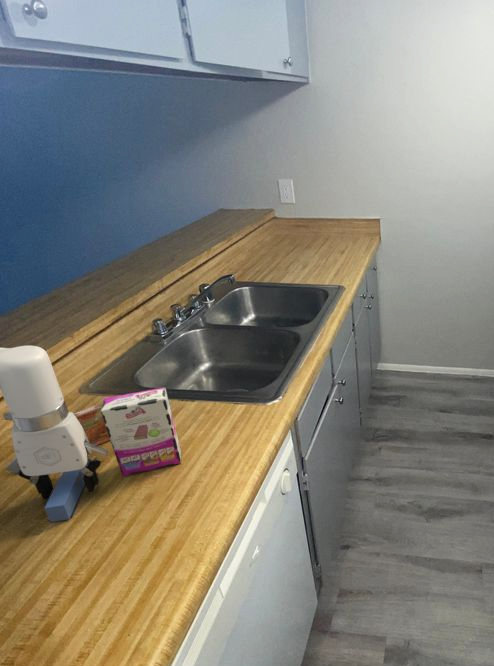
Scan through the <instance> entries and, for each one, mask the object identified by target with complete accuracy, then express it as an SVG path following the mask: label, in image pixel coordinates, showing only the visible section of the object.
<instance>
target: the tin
mask: <svg viewBox="0 0 494 666" xmlns="http://www.w3.org/2000/svg"><path fill="white" fill-rule="evenodd" d="M102 405H103V402H101V403H98V404H96V405H92V406H89V407H87V408H85V409H82V410H79V411H77V412H73V414H74V415H75V417H76V418H77V419H78V421H79V422H80V424H81V426H82V428H83V430H84V431H85V433H86V436H87V438H88V440H89V443H91V444H93V445H96V446H99V445H102V444H104V443H107V442H109V441H111V440H110V437H109V434H108V431H107V428H106V425H105V423H104V420H103V416H102V414H101V409H102Z"/></svg>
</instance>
